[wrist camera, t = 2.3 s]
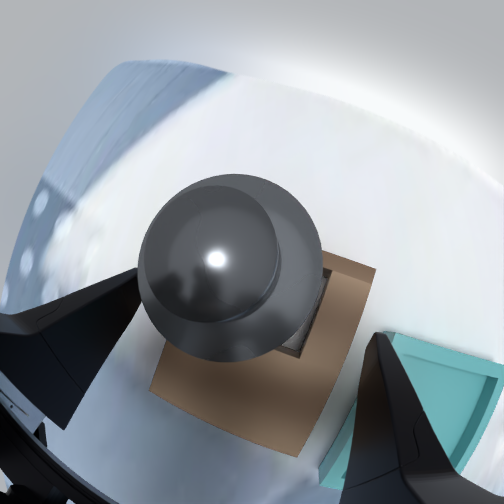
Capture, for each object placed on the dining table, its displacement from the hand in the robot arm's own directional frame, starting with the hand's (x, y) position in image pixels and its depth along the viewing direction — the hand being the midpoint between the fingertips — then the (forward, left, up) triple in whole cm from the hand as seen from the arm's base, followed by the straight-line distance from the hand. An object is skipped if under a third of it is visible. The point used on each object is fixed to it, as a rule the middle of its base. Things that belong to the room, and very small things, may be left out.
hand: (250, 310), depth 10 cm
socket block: (-2, 0, -9) cm, 9 cm away
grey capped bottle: (+1, 0, -9) cm, 9 cm away
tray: (-4, -13, -9) cm, 16 cm away
